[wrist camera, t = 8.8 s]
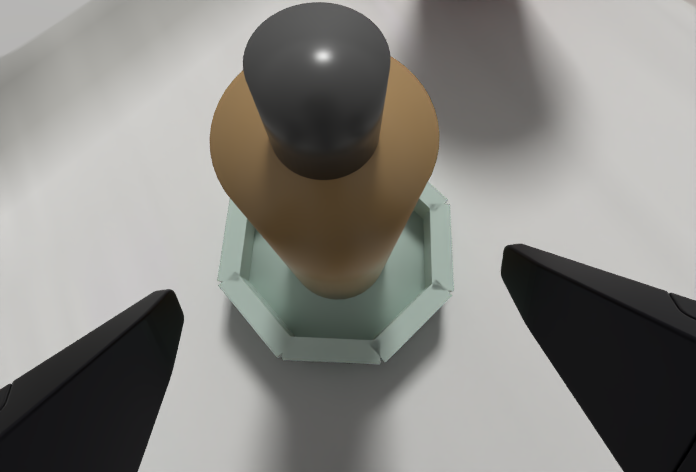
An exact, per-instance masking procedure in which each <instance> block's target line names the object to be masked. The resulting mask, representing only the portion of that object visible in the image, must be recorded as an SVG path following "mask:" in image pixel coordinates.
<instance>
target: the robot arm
mask: <svg viewBox="0 0 696 472" xmlns="http://www.w3.org/2000/svg"><path fill="white" fill-rule="evenodd" d="M501 276H502V279H503V281H504V283H505V285H506V287H507V289H508V291H509V293H510V295H511V297H512V299H513V301H514V303H515V305H516V307H517V309H518V311H519V313H520V314H521V316H522V318H523V320H524V322H525V324H526V325H527V327H528V328H529V330H530V332H531V333H532V335H533V336H534V338H535V339H536V341H537V342H538V344H539V345H540V347H541V348H542V350H543V351H544V353H545V354H546V356H547V357H548V359H549V360H550V362H551V363H552V365H553V366H554V368H555V369H556V371H557V372H558V374H559V375H560V377H561V378H562V380H563V381H564V383H565V384H566V386H567V387H568V389H569V390H570V392H571V393H572V395H573V396H574V398H575V399H576V401H577V402H578V404H579V405H580V407H581V408H582V410H583V411H584V413H585V414H586V416H587V417H588V419H589V420H590V422H591V423H592V425H593V426H594V428H595V429H596V431H597V432H598V434H599V435H600V437H601V438H602V440H603V441H604V443H605V444H606V446H607V447H608V449H609V450H610V452H611V453H612V455H613V456H614V458H615V459H616V461H617V462H618V464H619V465H620V467H621V468H622V470H623V471H624V472H696V301H695V300H692V299H689V298H686V297H683V296H680V295H677V294H674V293H668V292H667V291H664V290H661V289H658V288H655V287H652V286H649V285H646V284H643V283H640V282H637V281H634V280H631V279H628V278H625V277H622V276H619V275H616V274H613V273H609V272H606V271H603V270H600V269H597V268H594V267H591V266H588V265H585V264H582V263H579V262H576V261H573V260H570V259H567V258H564V257H561V256H558V255H555V254H552V253H548V252H545V251H542V250H539V249H536V248H533V247H530V246H527V245H524V244H513V245H507V246H506V247H505V248H504V251H503V259H502V266H501ZM183 323H184V315H183V311H182V309H181V306H180V304H179V302H178V299H177V297H176V294H175V293H174V291H173V290H171V289H167V290H159V291H155V292H153V293H151V294H150V295H148V296H147V297H145V298H143V299H142V300H140V301H139V302H137V303H136V304H134V305H132V306H131V307H129V308H128V309H126V310H125V311H123V312H121V313H120V314H118V315H117V316H115V317H114V318H112V319H110V320H109V321H107V322H106V323H104V324H103V325H101V326H99V327H98V328H96V329H95V330H93V331H92V332H90V333H88V334H87V335H85V336H84V337H82V338H80V339H79V340H77V341H76V342H74V343H73V344H71V345H69V346H68V347H66V348H65V349H63V350H62V351H60V352H58V353H57V354H55V355H54V356H52V357H51V358H49V359H47V360H46V361H44V362H43V363H41V364H40V365H38V366H36V367H35V368H33V369H32V370H30V371H29V372H27V373H25V374H24V375H22V376H21V377H19V378H18V379H16V380H14V381H13V383H12V384H8V385H6V386H5V387H3V388H2V389H0V472H138V469H139V466H140V464H141V461H142V458H143V455H144V452H145V449H146V446H147V444H148V441H149V438H150V435H151V432H152V429H153V426H154V424H155V421H156V418H157V415H158V412H159V409H160V406H161V404H162V401H163V398H164V395H165V392H166V389H167V386H168V384H169V381H170V377H171V374H172V371H173V367H174V363H175V358H176V354H177V350H178V345H179V341H180V336H181V332H182V328H183Z"/></svg>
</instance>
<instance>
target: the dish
mask: <svg viewBox="0 0 696 472" xmlns="http://www.w3.org/2000/svg"><path fill="white" fill-rule="evenodd" d="M447 201H448V199H447V198H445V197H444V196H443V195H442V194H441V193H440V192H439V191H438V190H437V189H436V188H435V187H434V186H432V185H431V184H430V183H429V182H427V184H426V186H425V188H424V190H423V192H422V194H421V196H420V198H419V200H418V202H417V204H416V206H415V208H414V210H413V212H412V213H411V215H410V217H409V219H408V221H407V223H406V225H405V227H404V229H403V231H402V233H401V235H400V237H399V239H398V241H397V243H396V245H395V247H394V249H393V251H392V253H391V255H390V257H389V258H388V260H387V262H386V264H385V266H384V268H383V270H382V272H381V274H380V276H379V278H378V279H377V280H376V282H375V283H374V284H373V285H372V286H371V287H370V288H369V289H367V290H366V291H365V292H363V293H361V294H359V295H357V296H355V297H352V298H348V299H337V300H335V299H328V298H324V297H321V296H319V295H316V294H315V293H313V292H311V291H310V290H308V289H307V288H306V287H305V286H304V285H303V284H302V283H301V282H300V281H299V279H298V278H297V277H296V276H295V275H294V274H293V272H292V271H291V270H290V269H289V268H288V266H287V265H286V264H285V263H284V262H283V260H282V259H281V258H280V257H279V256H278V255H277V253H276V252H275V251H274V250H273V249H272V247H271V246H270V245H269V244H268V243H267V242H266V240H265V239H264V238H263V237H262V236H261V234H260V233H259V232H258V231H257V230H256V228H255V227H254V226H253V225H252V224H251V223H250V221H249V220H248V219H247V218H246V217H245V215H244V214H243V213H242V212H241V211H240V209H239V208H238V207H237V206H236V205H235V204H234V202H233V201H232V200H231V198H230V200H229V207H228V213H227V220H226V226H225V233H224V240H223V246H222V253H221V259H220V266H219V272H218V279H217V281H219V282H221V284H220V285H218V286H219V287H220V288H221V289H222V291H223V292H224V293H225V294H226V296H227V297H228V298H229V299H230V300H231V302H232V303H233V304H234V305H235V307H236V308H237V309H238V310H239V312H240V313H241V314H242V315H243V317H244V318H245V319H246V320H247V321H248V323H249V324H250V325H251V326H252V328H253V329H254V330H255V331H256V333H257V334H258V335H259V336H260V338H261V339H262V340H263V341H264V342H265V344H266V345H267V346H268V347H269V349H270V350H271V351H272V352H273V354H274V355H275V356H276V357H277V358H278V357H282V360H291V361H313V362H335V363H357V364H379V365H380V359H381V360H382V361H384V362H385V363H386V362H387V361H388V360H389V359H390V358H391V357H392V356H393V355H394V354H395V353H396V352H397V351H398V350H399V349H400V348H401V346H402V345H403V344H404V343H405V342H406V341H407V340H408V339H409V338H410V337H411V336H412V335H413V334H414V333H415V332H416V331H417V330H418V329H419V328H420V327H421V326H422V325H423V324H424V323H425V322H426V321H427V320H428V319H429V318H430V317H431V316H432V315H433V314H434V313H435V312H436V311H437V310H438V309H439V308H440V307H441V306H442V305H443V304H444V303H445V302H446V301H447V300H448V299H449V298H450V297H451V296H452V295H451V294H450V292H452V291H454V282H453V260H452V238H451V217H450V204H445V203H446V202H447Z"/></svg>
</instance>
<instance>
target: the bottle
mask: <svg viewBox="0 0 696 472" xmlns="http://www.w3.org/2000/svg"><path fill="white" fill-rule="evenodd" d="M438 150H439V127H438V120H437V116H436V112H435V109H434V106H433V104H432V102H431V99H430V97H429V95H428V94H427V92H426V90H425V89H424V87H423V85H422V84H421V83H420V82H419V80H418V79H417V78H416V77H415V76H414V75H413V74H412V73H411V72H410V71H409V70H408V69H407V68H406V67H405V66H404V65H402V64H401V63H400V62H398V61H397V60H396V59H394V58H392V57H391V56H390V51H389V47H388V44H387V42H386V39H385V37H384V36H383V34H382V32H381V31H380V30H379V28H378V27H377V26H376V25H375V24H374V23H373V22H372V21H371V20H370V19H368V18H367V17H366V16H364V15H363V14H361V13H359V12H357V11H355V10H353V9H351V8H348V7H345V6H342V5H338V4H332V3H323V2H316V3H305V4H300V5H295V6H292V7H289V8H286V9H284V10H282V11H279V12H277V13H276V14H274V15H272V16H271V17H269V18H268V19H267V20H265V21H264V22H263V23H262V24H261V25H260V26H259V27H258V28H257V29H256V30H255V32H254V33H253V34H252V36H251V37H250V39H249V41H248V43H247V46H246V48H245V52H244V56H243V71H242V72H241V73H240V74H239V75H238V76H237V77H236V78H235V79H234V80H233V81H232V82H231V84H230V85H229V86H228V88H227V89H226V90H225V92H224V94H223V95H222V97H221V99H220V101H219V103H218V105H217V108H216V110H215V113H214V116H213V120H212V124H211V131H210V153H211V158H212V163H213V167H214V170H215V172H216V175H217V178H218V180H219V182H220V183H221V185H222V187H223V189H224V191H225V192H226V193H227V195H228V196H229V197H230V198H231V200H232V201H233V202H234V204H235V205H236V206H237V207H238V208H239V209H240V211H241V212H242V213H243V214H244V215H245V217H246V218H247V219H248V220H249V221H250V223H251V224H252V225H253V226H254V227H255V228H256V230H257V231H258V232H259V233H260V234H261V236H262V237H263V238H264V239H265V240H266V242H267V243H268V244H269V245H270V246H271V247H272V249H273V250H274V251H275V252H276V253H277V255H278V256H279V257H280V258H281V259H282V260H283V262H284V263H285V264H286V265H287V266H288V268H289V269H290V270H291V271H292V272H293V274H294V275H295V276H296V277H297V278H298V279H299V281H300V282H301V283H302V284H303V285H304V286H305V287H306V288H307V289H308V290H310V291H311V292H313V293H315V294H316V295H319V296H321V297H324V298H328V299H335V300H337V299H348V298H352V297H355V296H357V295H359V294H361V293H363V292H365V291H366V290H367V289H369V288H370V287H371V286H372V285H373V284H374V283H375V282H376V280H377V279H378V278H379V276H380V274H381V272H382V270H383V268H384V266H385V264H386V262H387V260H388V258H389V257H390V255H391V253H392V251H393V249H394V247H395V245H396V243H397V241H398V239H399V237H400V235H401V233H402V231H403V229H404V227H405V225H406V223H407V221H408V219H409V217H410V215H411V213H412V212H413V210H414V208H415V206H416V204H417V202H418V200H419V198H420V196H421V194H422V192H423V190H424V188H425V186H426V184H427V182H428V180H429V178H430V176H431V174H432V172H433V169H434V166H435V163H436V160H437V155H438Z"/></svg>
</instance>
